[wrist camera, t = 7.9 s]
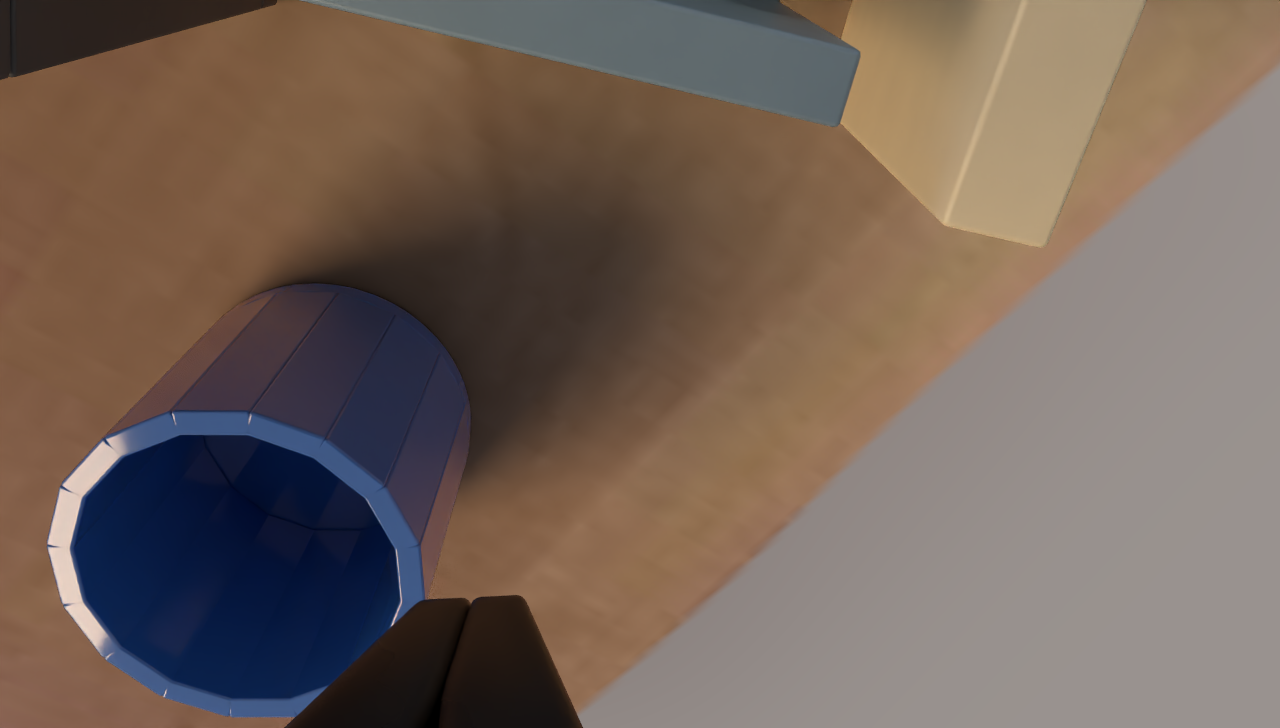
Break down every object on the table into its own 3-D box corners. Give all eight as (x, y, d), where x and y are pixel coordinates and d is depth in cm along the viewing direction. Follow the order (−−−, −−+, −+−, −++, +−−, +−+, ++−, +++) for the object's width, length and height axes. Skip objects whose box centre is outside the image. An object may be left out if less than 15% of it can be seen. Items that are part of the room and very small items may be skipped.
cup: (511, 345, 20) (473, 490, 15) (421, 566, 22) (361, 758, 17) (228, 238, 19) (88, 355, 14) (161, 479, 21) (18, 655, 16)
